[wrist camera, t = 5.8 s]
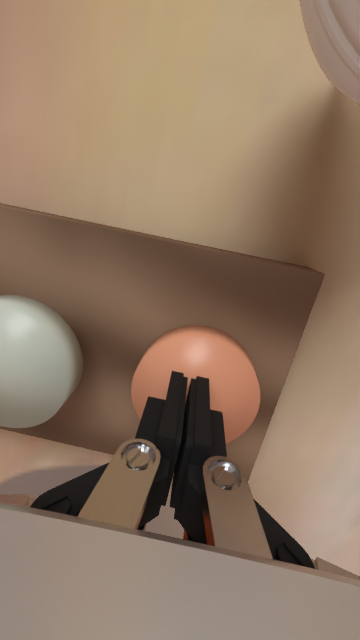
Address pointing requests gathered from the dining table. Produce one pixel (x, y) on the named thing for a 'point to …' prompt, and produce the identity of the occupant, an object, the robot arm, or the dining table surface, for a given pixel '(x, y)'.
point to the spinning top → (336, 41)
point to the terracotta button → (201, 373)
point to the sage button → (35, 362)
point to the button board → (149, 314)
